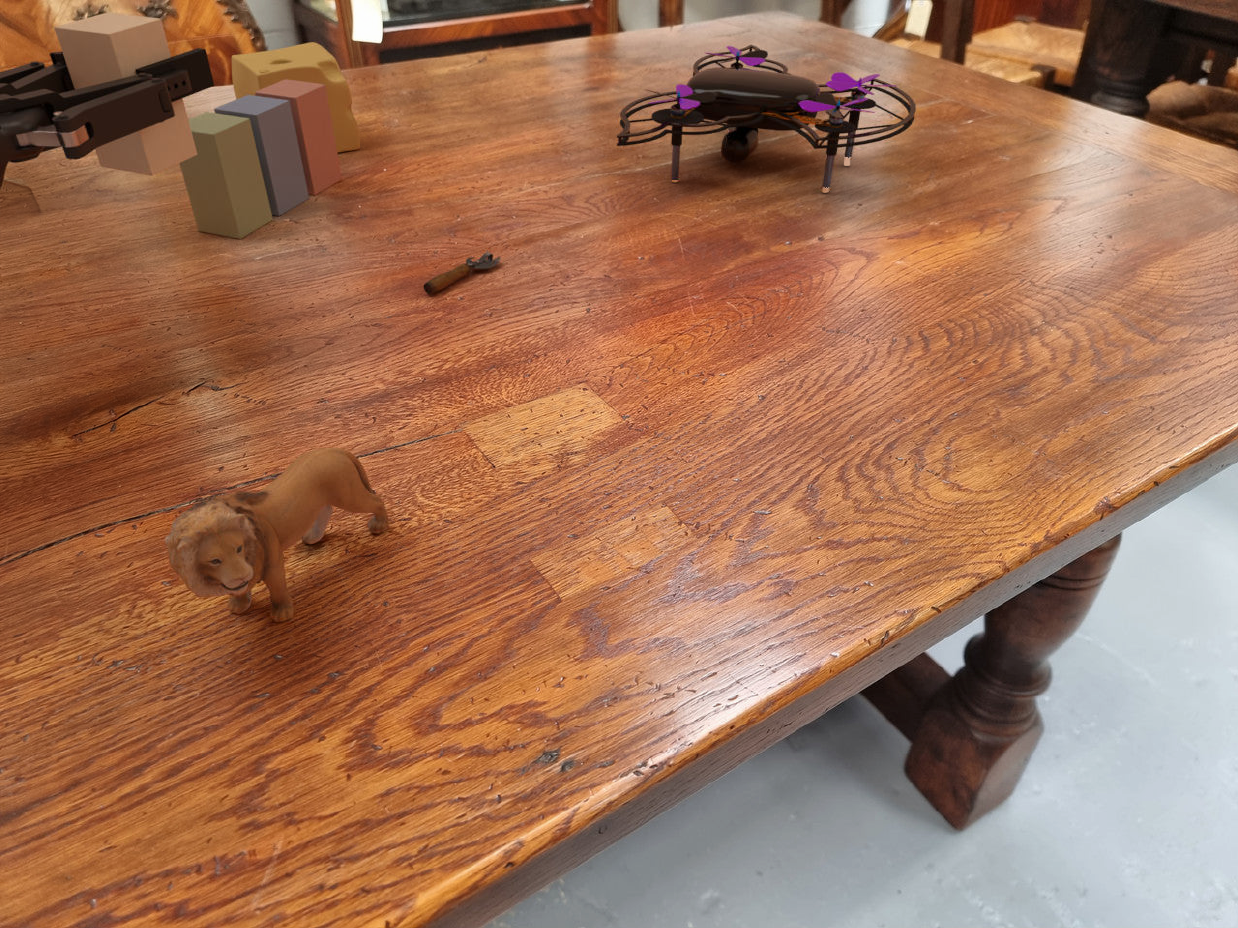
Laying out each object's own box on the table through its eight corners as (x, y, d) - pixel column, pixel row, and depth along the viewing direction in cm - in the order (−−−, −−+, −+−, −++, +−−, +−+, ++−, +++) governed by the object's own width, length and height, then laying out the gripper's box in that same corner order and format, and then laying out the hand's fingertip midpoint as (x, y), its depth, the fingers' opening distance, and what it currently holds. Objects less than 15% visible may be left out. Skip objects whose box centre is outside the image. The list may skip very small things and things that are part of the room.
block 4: (275, 188, 99) (254, 92, 93) (304, 173, 103) (285, 79, 96) (315, 195, 98) (295, 97, 91) (342, 179, 101) (325, 84, 95)
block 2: (198, 231, 90) (168, 127, 84) (232, 212, 94) (206, 111, 88) (240, 239, 89) (213, 134, 82) (273, 220, 92) (249, 118, 86)
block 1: (100, 167, 71) (53, 27, 65) (148, 146, 75) (107, 12, 69) (152, 176, 70) (109, 34, 64) (198, 155, 73) (161, 18, 67)
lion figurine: (263, 683, 47) (218, 553, 41) (177, 655, 48) (122, 525, 42) (409, 506, 58) (389, 385, 52) (335, 488, 59) (308, 367, 53)
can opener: (431, 297, 79) (430, 285, 79) (414, 289, 81) (412, 276, 80) (507, 263, 85) (506, 251, 84) (490, 256, 86) (489, 244, 85)
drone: (727, 26, 118) (950, 52, 109) (721, 104, 124) (932, 135, 115) (586, 112, 90) (872, 157, 80) (587, 208, 96) (853, 260, 86)
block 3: (238, 209, 94) (213, 108, 88) (269, 192, 98) (247, 94, 92) (279, 216, 93) (256, 115, 87) (309, 198, 97) (289, 100, 91)
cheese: (363, 150, 109) (349, 60, 103) (272, 167, 104) (251, 74, 98) (331, 126, 115) (316, 40, 109) (244, 141, 111) (223, 52, 105)
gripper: (-173, 197, 60) (102, 99, 77) (39, 242, 55) (282, 126, 72) (-237, 77, 55) (71, 0, 73) (-12, 113, 51) (261, 22, 68)
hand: (176, 63), depth 73 cm, fingers closed on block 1, 5 cm apart
